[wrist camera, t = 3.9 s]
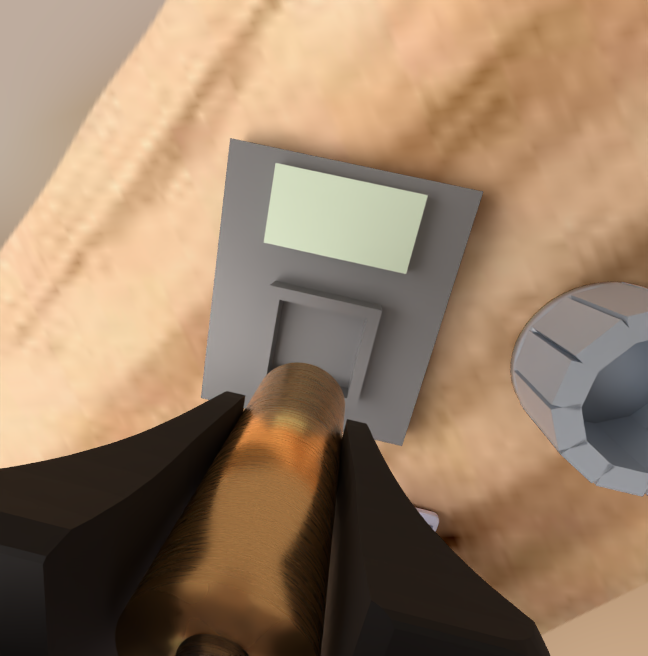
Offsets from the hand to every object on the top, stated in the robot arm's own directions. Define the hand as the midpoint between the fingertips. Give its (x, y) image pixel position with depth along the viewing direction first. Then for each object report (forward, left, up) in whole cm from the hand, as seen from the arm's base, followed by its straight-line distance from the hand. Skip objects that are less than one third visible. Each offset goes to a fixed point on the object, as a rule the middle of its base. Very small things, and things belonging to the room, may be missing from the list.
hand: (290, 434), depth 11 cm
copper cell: (0, 0, -2) cm, 2 cm away
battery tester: (+2, 0, -10) cm, 11 cm away
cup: (+2, -15, -10) cm, 18 cm away
